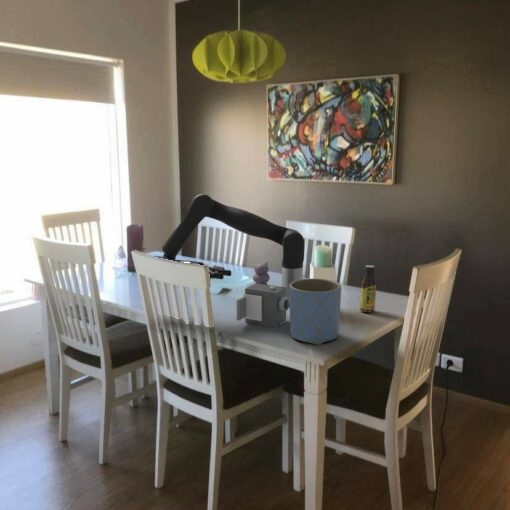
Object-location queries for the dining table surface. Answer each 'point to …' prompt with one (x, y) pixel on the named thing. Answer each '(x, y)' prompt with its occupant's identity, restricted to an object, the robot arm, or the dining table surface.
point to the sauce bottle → (368, 290)
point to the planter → (314, 310)
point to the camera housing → (270, 303)
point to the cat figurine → (261, 273)
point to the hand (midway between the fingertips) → (226, 274)
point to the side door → (249, 307)
